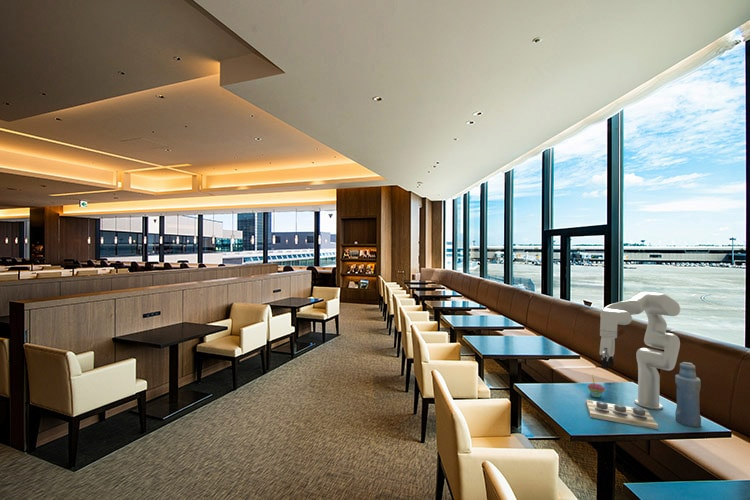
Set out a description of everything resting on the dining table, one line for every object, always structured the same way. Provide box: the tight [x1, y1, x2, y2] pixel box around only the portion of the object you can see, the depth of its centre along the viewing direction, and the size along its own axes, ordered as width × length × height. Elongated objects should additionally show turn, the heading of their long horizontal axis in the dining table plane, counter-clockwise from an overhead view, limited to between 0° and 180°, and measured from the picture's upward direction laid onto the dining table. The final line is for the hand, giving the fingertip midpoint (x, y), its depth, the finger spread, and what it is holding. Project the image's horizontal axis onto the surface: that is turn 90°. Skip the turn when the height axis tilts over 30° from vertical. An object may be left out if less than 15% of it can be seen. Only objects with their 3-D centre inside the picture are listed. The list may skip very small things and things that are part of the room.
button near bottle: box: [633, 407, 645, 416], centre depth 181 cm, size 5×5×2 cm
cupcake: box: [587, 374, 606, 398], centre depth 213 cm, size 9×8×12 cm
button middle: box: [614, 404, 626, 412], centre depth 184 cm, size 5×5×2 cm
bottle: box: [674, 361, 702, 428], centre depth 180 cm, size 10×10×30 cm
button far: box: [596, 401, 608, 409], centre depth 187 cm, size 5×5×2 cm
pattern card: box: [592, 400, 633, 411], centre depth 192 cm, size 5×22×1 cm, turn 65°
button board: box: [585, 399, 659, 430], centre depth 187 cm, size 20×28×2 cm
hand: (607, 366), depth 186 cm, fingers open, 9 cm apart
